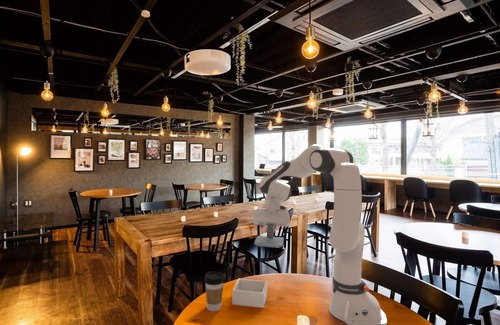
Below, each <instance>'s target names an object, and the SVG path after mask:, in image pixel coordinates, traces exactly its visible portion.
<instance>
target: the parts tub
mask: <svg viewBox="0 0 500 325" xmlns="http://www.w3.org/2000/svg"><path fill="white" fill-rule="evenodd" d="M231 293H232V294H231V296H232V297H231V304H232V305H237V306H245V307H254V308H263V309H264V308H265V304H266V299H267V297H268V296H267V295H268V280H257V279H249V278H239V277H238V279H237V280H236V282H235V284H234V287H233V288H232V290H231Z"/></svg>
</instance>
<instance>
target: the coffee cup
mask: <svg viewBox="0 0 500 325" xmlns="http://www.w3.org/2000/svg"><path fill="white" fill-rule="evenodd" d="M224 282H225V276H224V274H223V273H222V272H220V271H208V272H206V273H205V276H204V284H205V297H206V309H207V310H208V311H210V312H218V311H219V310H221V308H222V302H223V301H222V300H223V294H224V293H223V292H224Z"/></svg>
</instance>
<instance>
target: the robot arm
mask: <svg viewBox="0 0 500 325" xmlns="http://www.w3.org/2000/svg"><path fill="white" fill-rule="evenodd" d="M315 172H318V173H321V174H323V175H326V176H328V175H331V176H332V177H333V212H332V218H331V220H332V221H331V227H330V232H329V236H328V240H329V244H330V246H331V248H333V250H335V255H334V258H333V276H332V279H331V283H332V284H331V290H332V297H331V300H330V301H331V302H330V304H329V307H328V311H329V313H330V314H331V315H332V316H333V317H335V318H336V319H338V320H340V321H342V322H343V323H345V324H347V325H388V319H387V316H386V313H385V312H384V311H383V310H382V309H381V306H380V303H379V301H378V300H377V298H376V297H375V296H374V295H372V294H371V293H370V292H369V291H370V289H371V288H370V287H369V286H368V284H367V283H366V282H365V281H364V280H363V279H362V262H363V255H364V248H365V247H364V245H365V235H366V229H365V226H364V224H363V223H362V222H361V221H360V220H361V219H360V218H361V212H362V209H363V208H362V203H363V202H362V199H363V198H362V194H363V193H362V178H361V171H360V169H359V167H358V166H357V165H356V164H354V157H353V154H352V153H351V151H349V150H346V149H343V148H334V147H323V146H322V145H320V144H318V143H317V144H316V143H314V144H311V145H309V146H308V147H306V148H305V149H304V150H303V151H302V152H301V153H300V154H299V155H298V156H297V157H296V158H293V159H291V160H287V161H284V162H282V163H281V164H280V165H278V166H277V167H276V168H275V169H274V170H273V171H271V172H270V173H268V174H267V175H265V176H264V177H262V178H261V179H260V181H259V184H258V188H259V190H260V192H261V193H262V194H265V195H266V196H265V200H266V201H265V205H264V208H262V209H261V208H260V209H259V208H257V209H255V210H254V211H253V217H252V223H253V225H256V226H257V225H259V226H263V228H264V232H265V233H267V226H268V224H274V226H273V234H274V233H275V234H276V233H277V230H278V229H279V227H284V228H285V227H286V228H287V227H290V226H291V218H290V213H289V208H288V207H287V206H284V205H281V203H284V202H287V201H288V200H289V199H290V198H291V196H292V188H291V185H290V184H287V183H285V182H283V181H280V179H281V178H282V177H286V176H287V177H294V178H302V179H305V178H309V177H310V176H311V175H313V174H314V173H315Z"/></svg>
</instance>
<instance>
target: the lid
mask: <svg viewBox="0 0 500 325" xmlns="http://www.w3.org/2000/svg"><path fill="white" fill-rule="evenodd" d="M274 227H275V226H274V224H268V225H267V226H266V228H267V232H266V236H263V235H257V237H256V238H255V240H254V242H253V244H254V245H255V246H257V247H266V248H278V249H279V248H281V247H283V245H284V241H285V240H284V237H281V236H280V237H278V236H274V233H273V228H274Z"/></svg>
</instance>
